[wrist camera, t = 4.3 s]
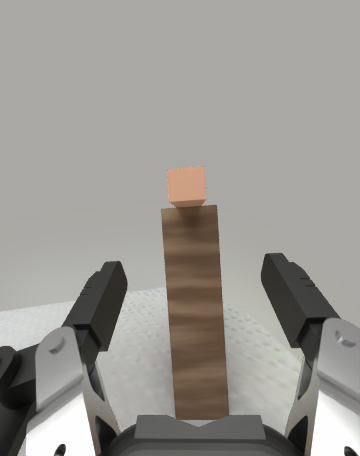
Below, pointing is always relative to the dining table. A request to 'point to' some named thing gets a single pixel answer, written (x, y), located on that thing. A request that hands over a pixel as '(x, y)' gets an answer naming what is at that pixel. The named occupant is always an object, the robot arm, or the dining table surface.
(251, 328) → the dining table surface
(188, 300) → the stand
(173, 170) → the peach-coloured block
